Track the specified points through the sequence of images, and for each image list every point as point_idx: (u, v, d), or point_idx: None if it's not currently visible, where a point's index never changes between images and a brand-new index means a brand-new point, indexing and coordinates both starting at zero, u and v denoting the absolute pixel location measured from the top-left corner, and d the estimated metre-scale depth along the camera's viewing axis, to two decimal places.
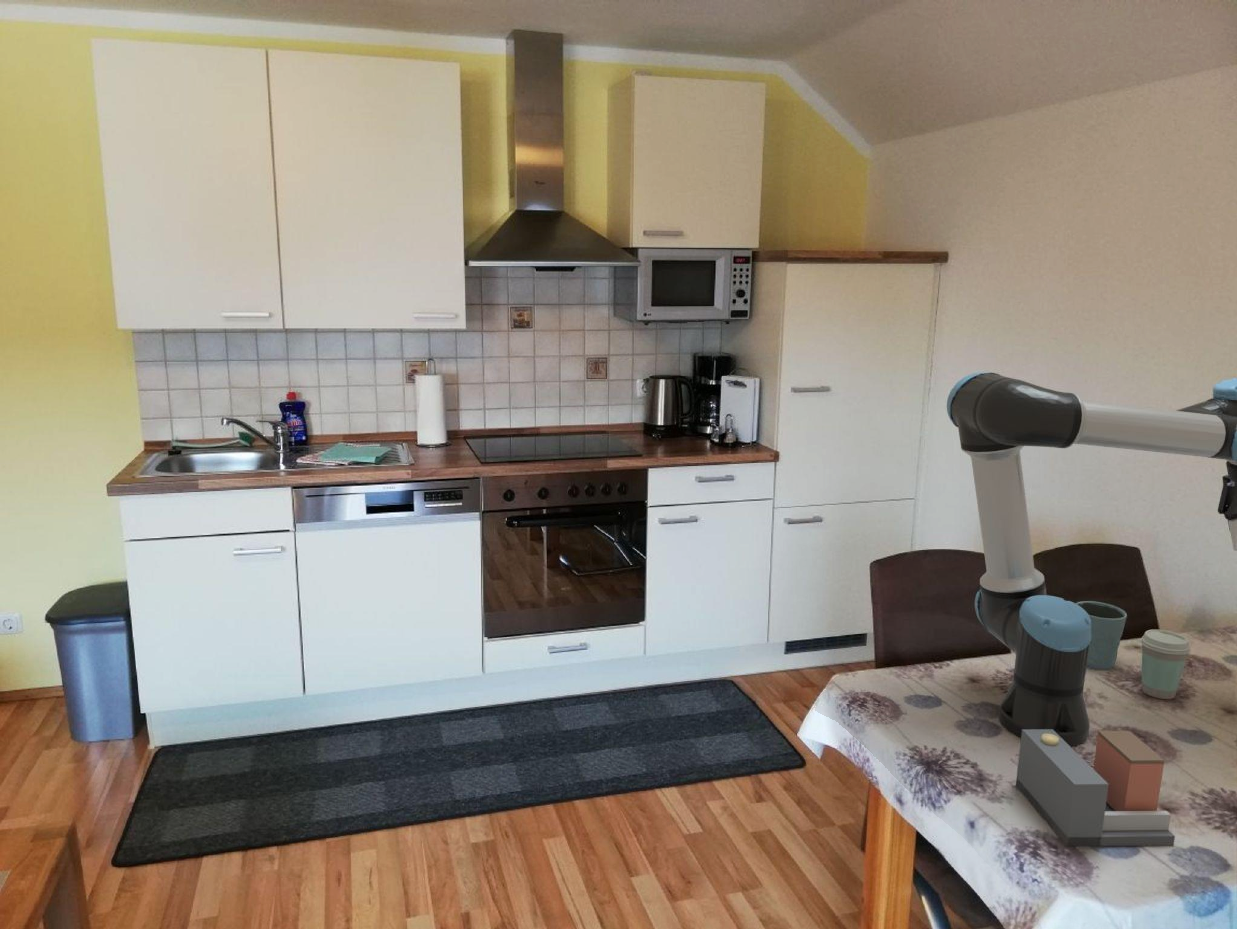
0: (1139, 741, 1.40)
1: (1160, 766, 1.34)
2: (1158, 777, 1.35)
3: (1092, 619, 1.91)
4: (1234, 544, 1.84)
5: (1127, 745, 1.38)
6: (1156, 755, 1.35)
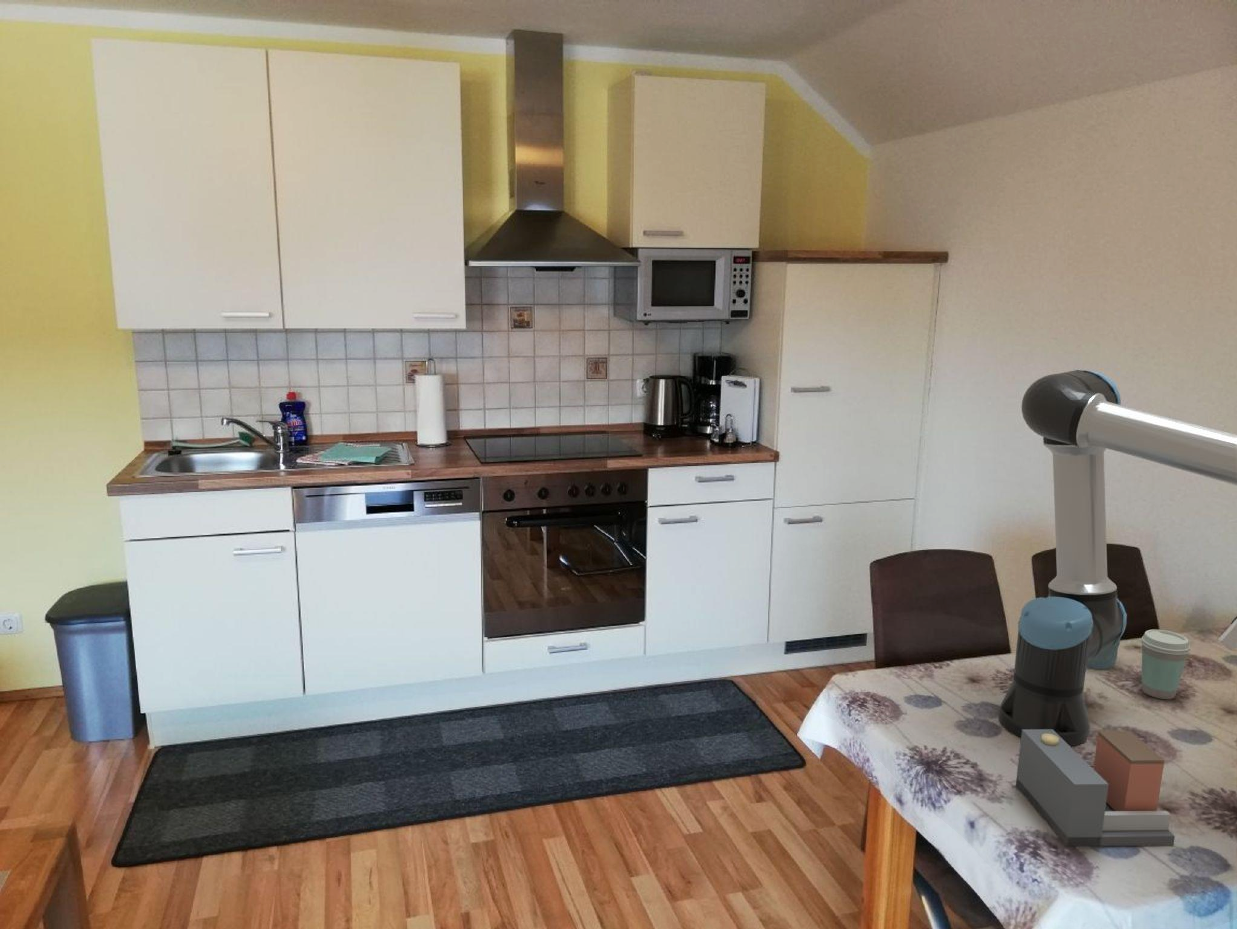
0: (1139, 741, 1.40)
1: (1160, 766, 1.34)
2: (1158, 777, 1.35)
3: None
4: (1226, 634, 1.44)
5: (1127, 745, 1.38)
6: (1156, 755, 1.35)
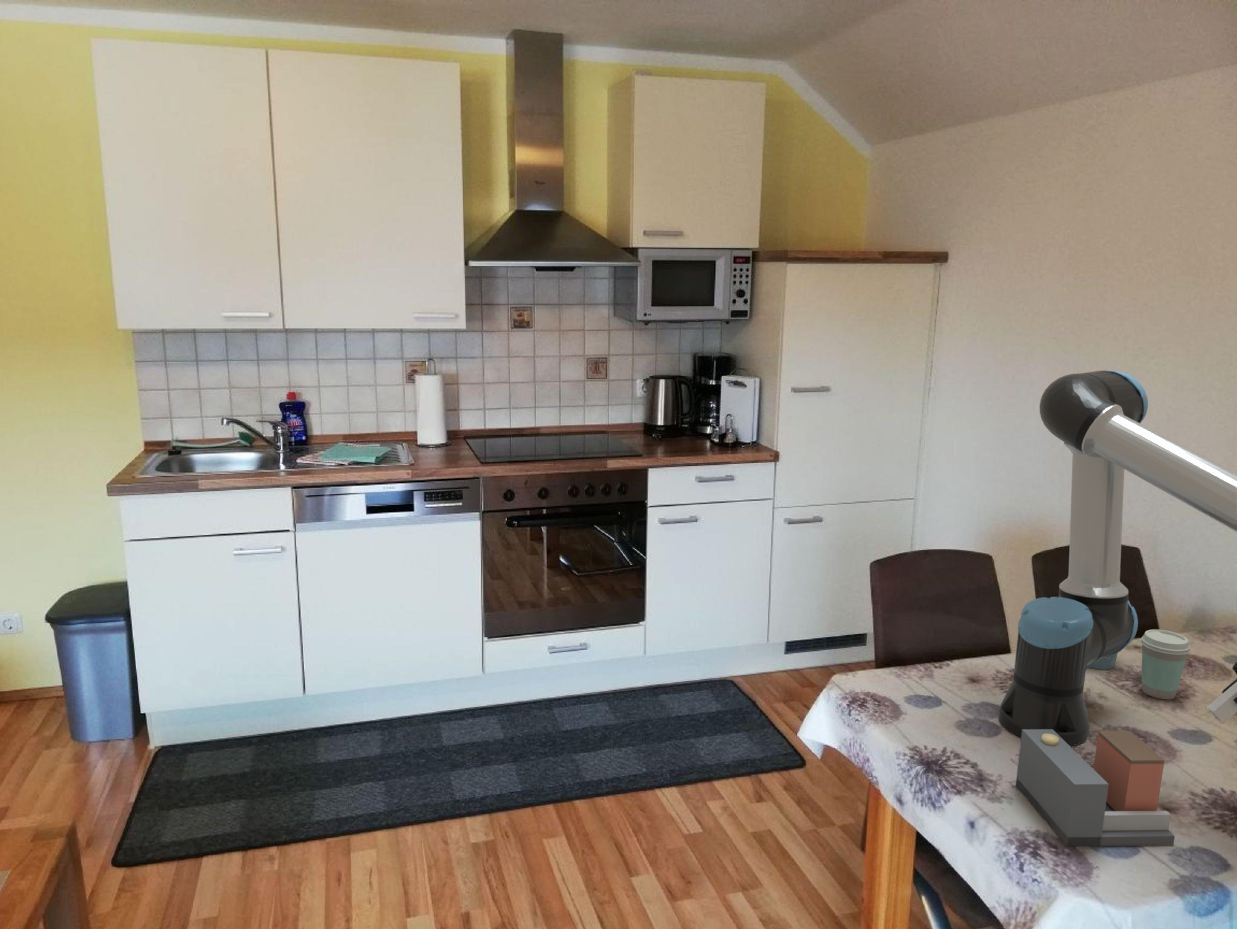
0: (1139, 741, 1.40)
1: (1160, 766, 1.34)
2: (1158, 777, 1.35)
3: None
4: (1215, 703, 1.38)
5: (1127, 745, 1.38)
6: (1156, 755, 1.35)
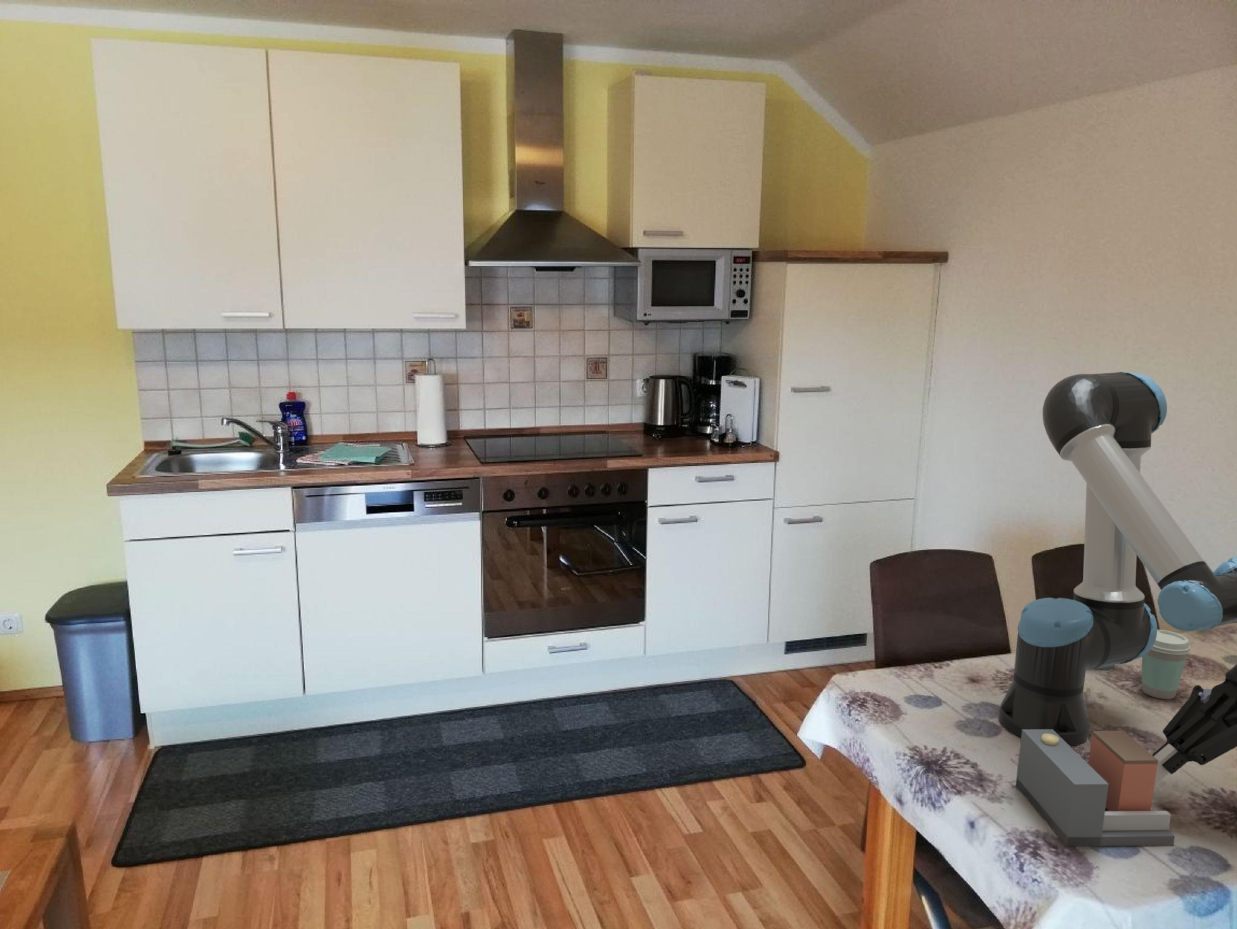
0: (1133, 741, 1.39)
1: (1154, 766, 1.34)
2: (1152, 777, 1.35)
3: None
4: None
5: (1121, 745, 1.38)
6: (1150, 755, 1.35)
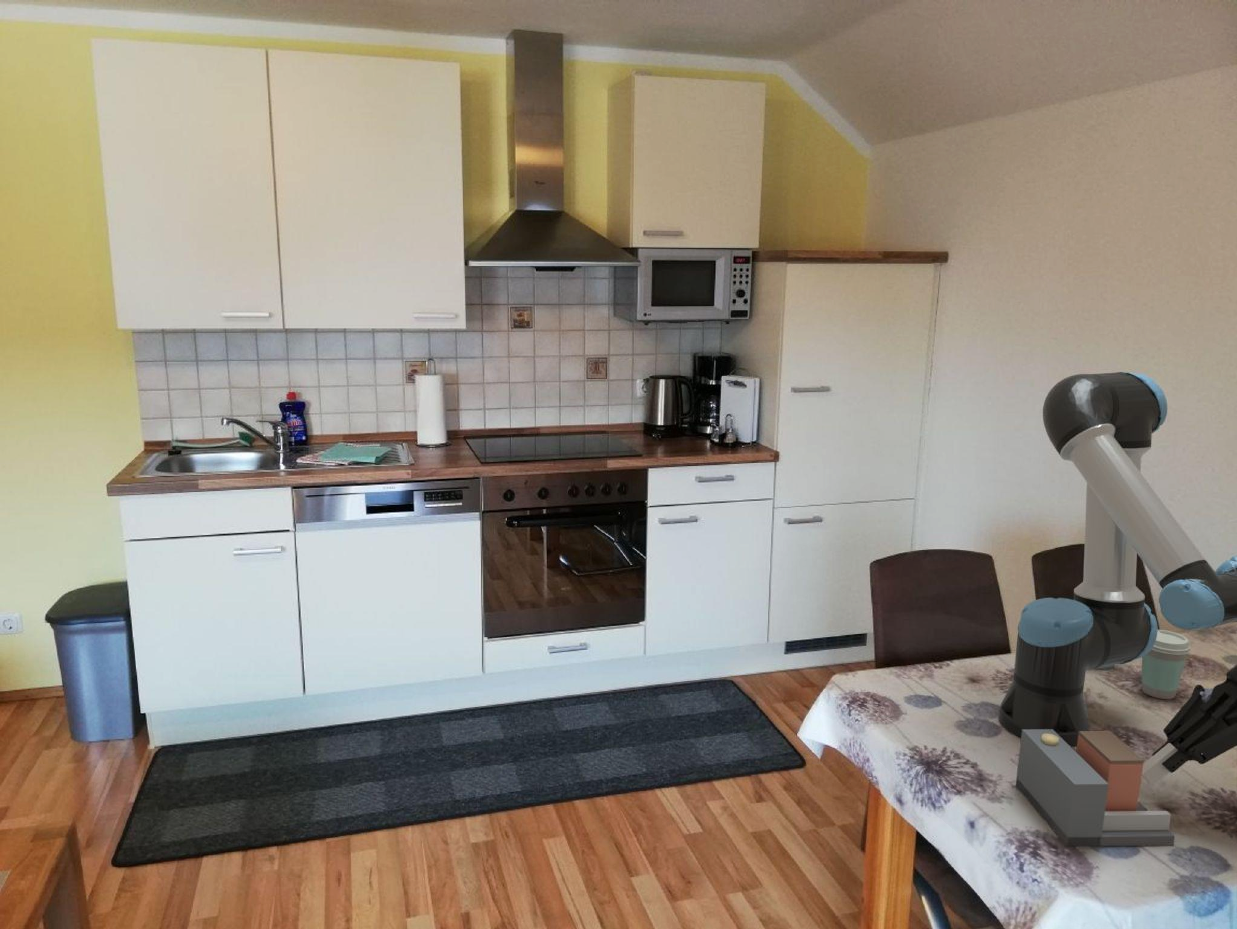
0: (1119, 741, 1.39)
1: (1139, 766, 1.34)
2: (1137, 777, 1.35)
3: None
4: (1145, 766, 1.39)
5: (1107, 745, 1.38)
6: (1136, 755, 1.35)
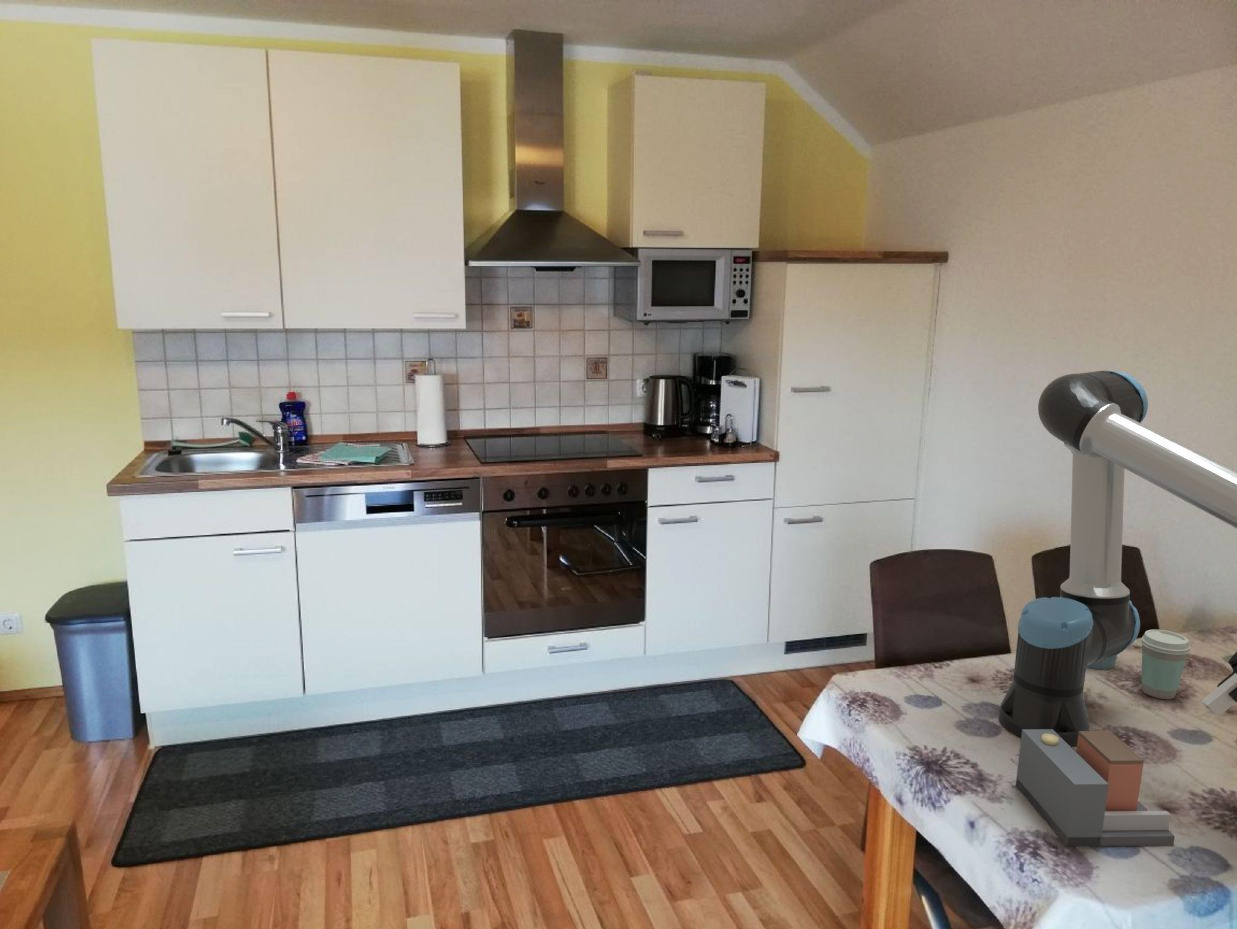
0: (1119, 741, 1.39)
1: (1139, 766, 1.34)
2: (1137, 777, 1.35)
3: None
4: (1210, 696, 1.37)
5: (1107, 745, 1.38)
6: (1136, 755, 1.35)
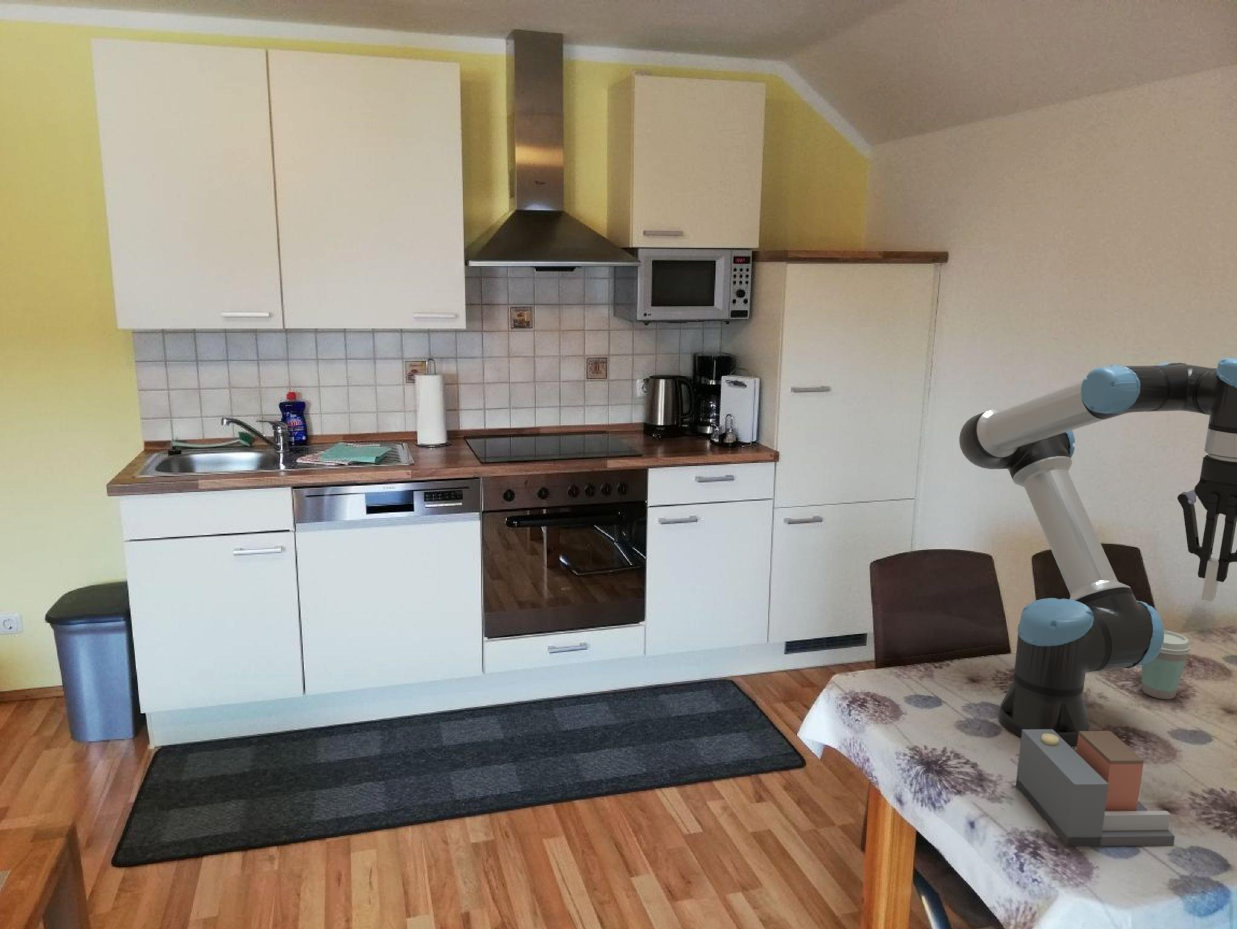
0: (1119, 741, 1.39)
1: (1139, 766, 1.34)
2: (1137, 777, 1.35)
3: None
4: (1206, 592, 1.47)
5: (1107, 745, 1.38)
6: (1136, 755, 1.35)
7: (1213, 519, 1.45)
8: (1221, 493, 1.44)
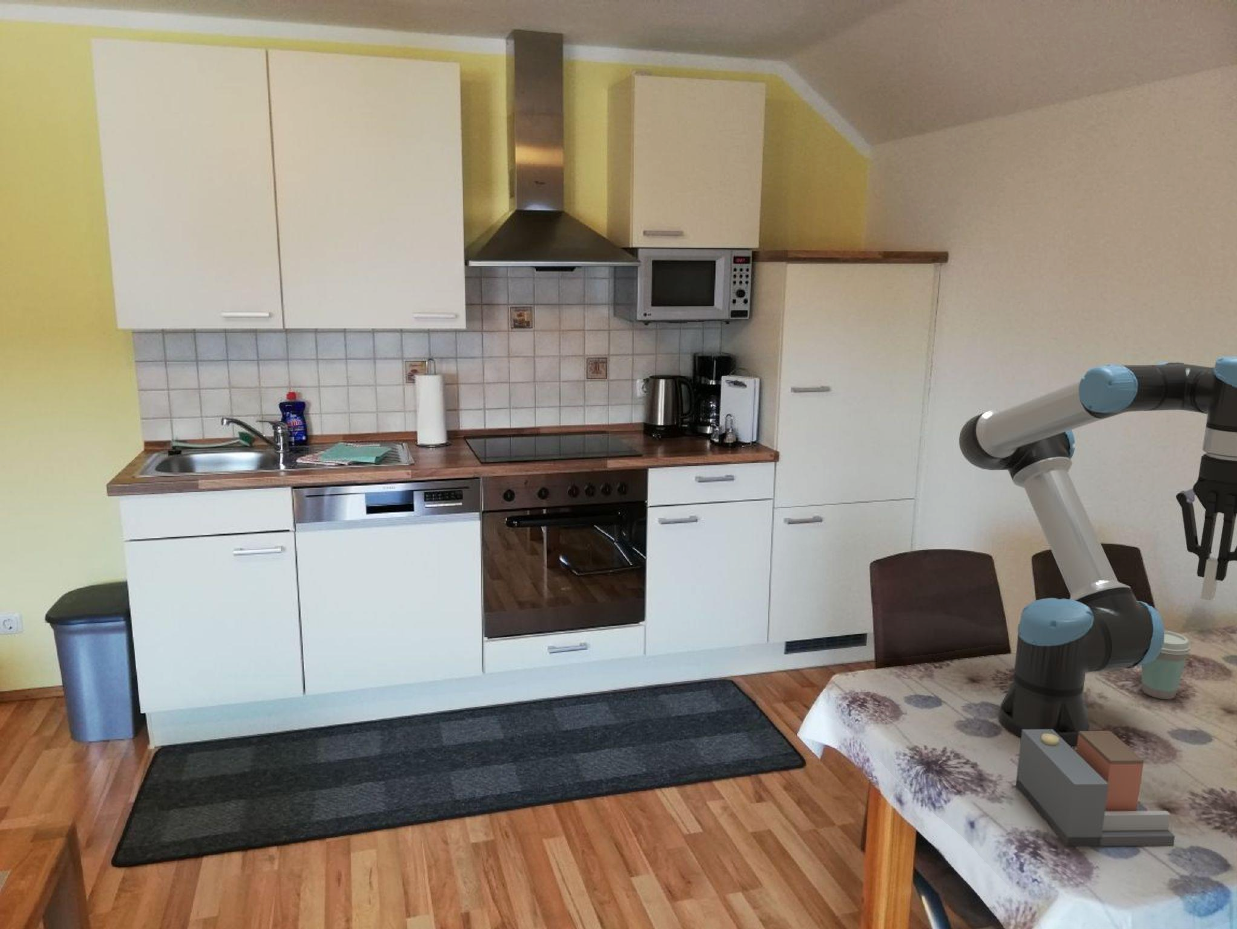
0: (1119, 741, 1.39)
1: (1139, 766, 1.34)
2: (1137, 777, 1.35)
3: None
4: (1205, 591, 1.47)
5: (1107, 745, 1.38)
6: (1136, 755, 1.35)
7: (1212, 518, 1.45)
8: (1219, 492, 1.44)
